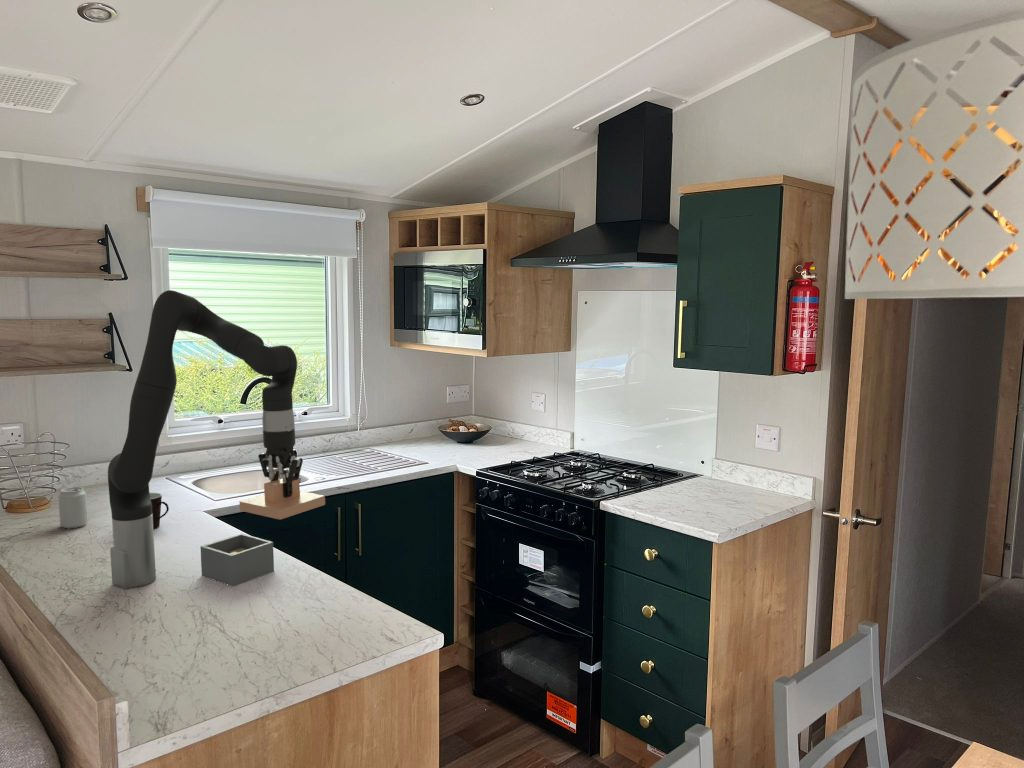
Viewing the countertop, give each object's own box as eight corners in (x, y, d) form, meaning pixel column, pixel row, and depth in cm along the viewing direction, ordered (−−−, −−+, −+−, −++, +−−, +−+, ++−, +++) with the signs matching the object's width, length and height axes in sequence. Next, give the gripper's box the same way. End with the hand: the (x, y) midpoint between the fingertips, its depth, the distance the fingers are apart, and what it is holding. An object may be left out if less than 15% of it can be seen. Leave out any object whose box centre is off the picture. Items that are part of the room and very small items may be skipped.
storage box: (232, 586, 192) (231, 555, 191) (201, 575, 199) (200, 546, 198) (274, 571, 203) (273, 542, 202) (243, 561, 210) (242, 533, 209)
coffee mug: (128, 527, 239) (126, 496, 238) (156, 521, 245) (155, 491, 244) (143, 535, 231) (141, 503, 230) (172, 529, 237) (170, 498, 236)
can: (91, 525, 240) (89, 488, 239) (65, 531, 235) (62, 493, 234) (83, 520, 246) (80, 484, 244) (57, 526, 240) (54, 488, 239)
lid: (280, 519, 180) (278, 491, 179) (239, 510, 187) (238, 483, 186) (325, 504, 192) (324, 478, 191) (285, 496, 199) (284, 471, 198)
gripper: (247, 427, 187) (250, 495, 190) (286, 432, 180) (290, 503, 182) (271, 422, 194) (274, 488, 196) (310, 427, 186) (313, 496, 188)
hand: (282, 495), depth 189 cm, fingers closed on lid, 3 cm apart
